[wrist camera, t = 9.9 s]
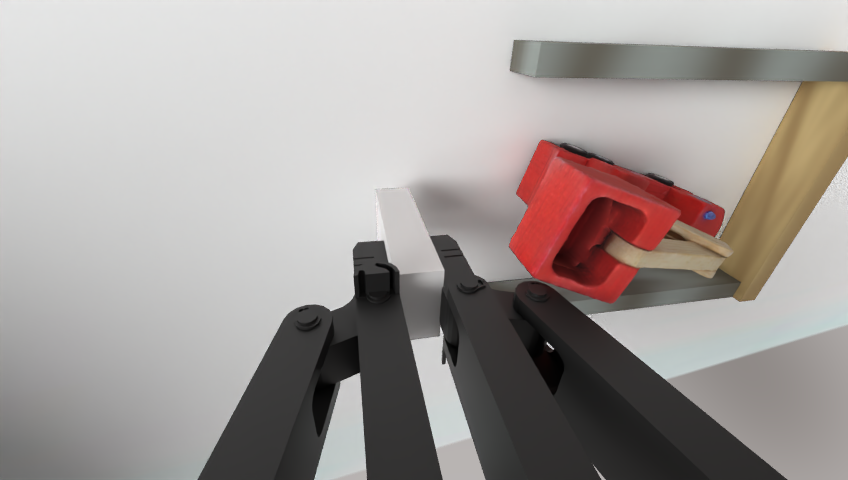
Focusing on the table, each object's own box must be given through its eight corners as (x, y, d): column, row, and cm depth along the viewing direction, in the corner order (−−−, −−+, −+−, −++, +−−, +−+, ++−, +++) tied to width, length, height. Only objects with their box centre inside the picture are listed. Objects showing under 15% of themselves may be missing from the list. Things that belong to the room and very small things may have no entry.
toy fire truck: (643, 229, 22) (817, 342, 14) (448, 174, 18) (537, 292, 10) (676, 181, 21) (889, 275, 13) (473, 108, 17) (603, 181, 8)
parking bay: (477, 298, 23) (494, 332, 20) (514, 40, 15) (547, 42, 13) (714, 273, 26) (754, 299, 24) (836, 51, 19) (913, 54, 16)
